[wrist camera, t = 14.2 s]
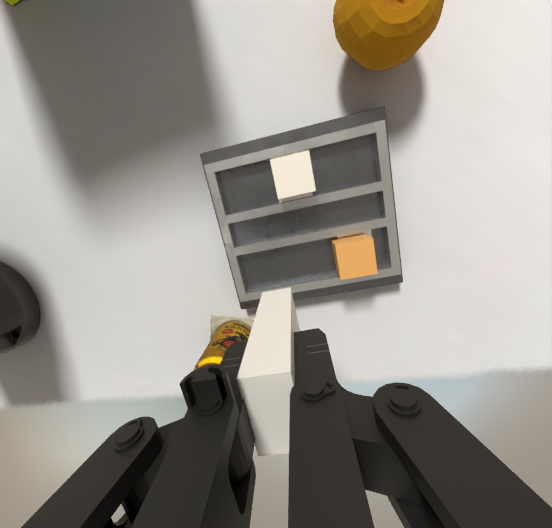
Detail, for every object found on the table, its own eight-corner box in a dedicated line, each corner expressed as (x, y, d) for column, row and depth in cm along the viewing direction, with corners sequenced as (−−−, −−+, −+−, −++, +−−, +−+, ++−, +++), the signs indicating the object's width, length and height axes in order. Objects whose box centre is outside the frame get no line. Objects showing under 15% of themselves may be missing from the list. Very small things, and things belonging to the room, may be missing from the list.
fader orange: (336, 271, 32) (340, 280, 29) (331, 240, 31) (335, 245, 28) (369, 265, 32) (377, 273, 28) (364, 233, 31) (373, 238, 27)
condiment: (260, 320, 37) (243, 375, 26) (257, 370, 40) (239, 442, 28) (211, 314, 38) (172, 366, 26) (210, 364, 40) (174, 433, 28)
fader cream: (280, 199, 30) (278, 199, 27) (273, 163, 30) (269, 159, 26) (314, 191, 30) (315, 190, 27) (307, 155, 29) (308, 150, 26)
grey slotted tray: (244, 303, 37) (239, 313, 34) (205, 156, 32) (195, 152, 29) (397, 277, 34) (406, 285, 31) (378, 112, 29) (388, 102, 26)
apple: (318, 77, 29) (326, 27, 20) (343, -20, 27) (365, -124, 18) (396, 98, 29) (437, 56, 20) (428, 2, 27) (491, -93, 18)
